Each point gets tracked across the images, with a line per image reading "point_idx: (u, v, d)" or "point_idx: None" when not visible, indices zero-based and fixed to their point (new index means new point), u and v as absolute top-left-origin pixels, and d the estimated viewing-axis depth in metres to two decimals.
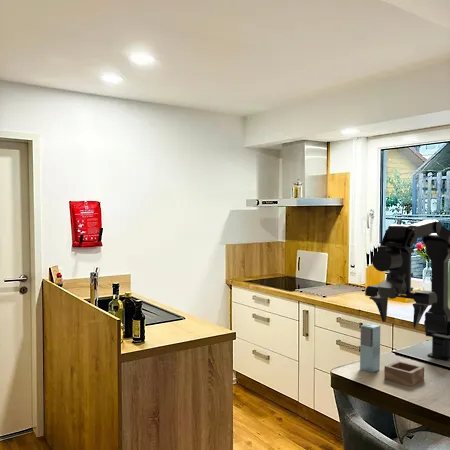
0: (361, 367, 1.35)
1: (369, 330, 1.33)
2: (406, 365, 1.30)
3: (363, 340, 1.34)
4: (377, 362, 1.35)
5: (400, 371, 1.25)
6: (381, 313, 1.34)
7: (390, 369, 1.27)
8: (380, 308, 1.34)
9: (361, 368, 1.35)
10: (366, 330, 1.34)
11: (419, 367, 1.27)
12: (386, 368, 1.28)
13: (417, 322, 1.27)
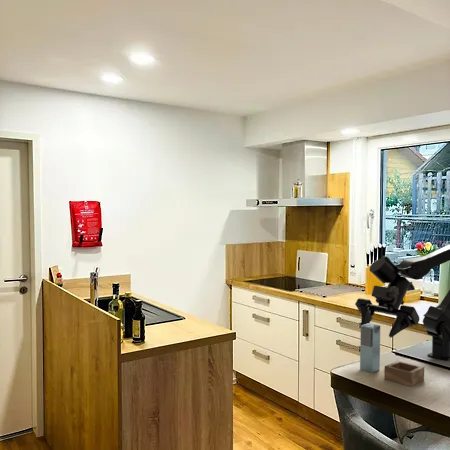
0: (361, 367, 1.35)
1: (369, 330, 1.33)
2: (406, 365, 1.30)
3: (363, 340, 1.34)
4: (377, 362, 1.35)
5: (400, 371, 1.25)
6: (362, 321, 1.42)
7: (390, 369, 1.27)
8: (363, 317, 1.43)
9: (361, 368, 1.35)
10: (366, 330, 1.34)
11: (419, 367, 1.27)
12: (386, 368, 1.28)
13: (393, 332, 1.35)
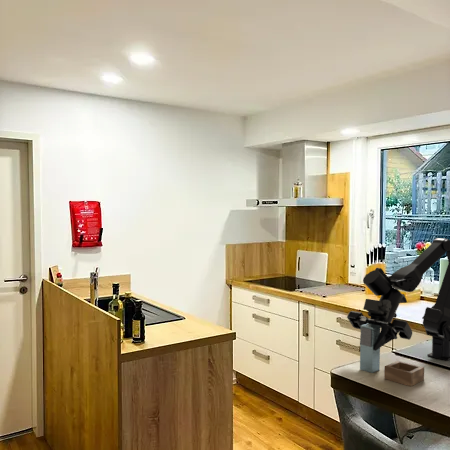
0: (361, 367, 1.35)
1: (369, 330, 1.33)
2: (406, 365, 1.30)
3: (363, 340, 1.34)
4: (377, 362, 1.35)
5: (400, 371, 1.25)
6: None
7: (390, 369, 1.27)
8: None
9: (361, 368, 1.35)
10: (366, 330, 1.34)
11: (419, 367, 1.27)
12: (386, 368, 1.28)
13: (378, 345, 1.33)
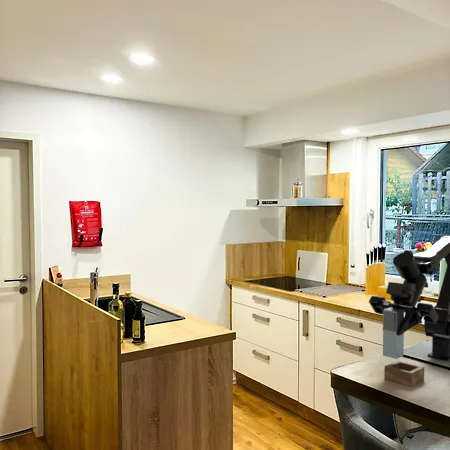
0: (384, 353, 1.30)
1: (392, 314, 1.28)
2: (406, 365, 1.30)
3: (386, 325, 1.29)
4: (401, 348, 1.29)
5: (400, 371, 1.25)
6: None
7: (390, 369, 1.27)
8: None
9: (384, 354, 1.30)
10: (389, 314, 1.28)
11: (419, 367, 1.27)
12: (386, 368, 1.28)
13: (402, 330, 1.28)
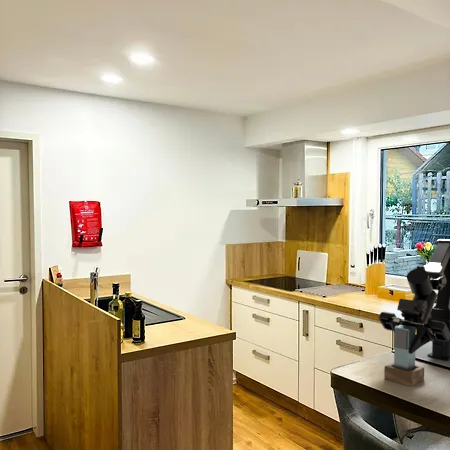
0: None
1: (404, 332, 1.25)
2: None
3: (398, 342, 1.27)
4: (412, 366, 1.27)
5: (400, 371, 1.25)
6: None
7: (390, 369, 1.27)
8: None
9: None
10: (401, 332, 1.26)
11: (419, 367, 1.27)
12: (386, 368, 1.28)
13: (414, 348, 1.26)
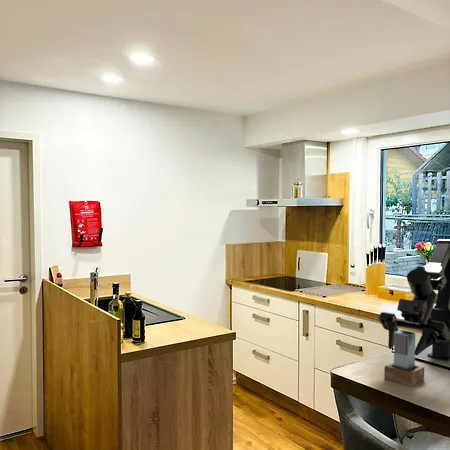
0: None
1: (404, 337, 1.25)
2: None
3: (397, 348, 1.27)
4: None
5: (400, 371, 1.25)
6: (390, 338, 1.31)
7: (390, 369, 1.27)
8: (391, 333, 1.31)
9: None
10: (401, 337, 1.26)
11: (419, 367, 1.27)
12: (386, 368, 1.28)
13: (419, 350, 1.24)
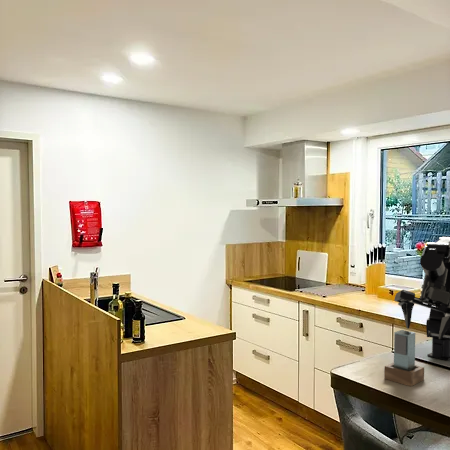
0: None
1: (404, 337, 1.25)
2: None
3: (397, 348, 1.27)
4: None
5: (400, 371, 1.25)
6: (409, 319, 1.33)
7: (390, 369, 1.27)
8: (410, 314, 1.33)
9: None
10: (401, 337, 1.26)
11: (419, 367, 1.27)
12: (386, 368, 1.28)
13: None
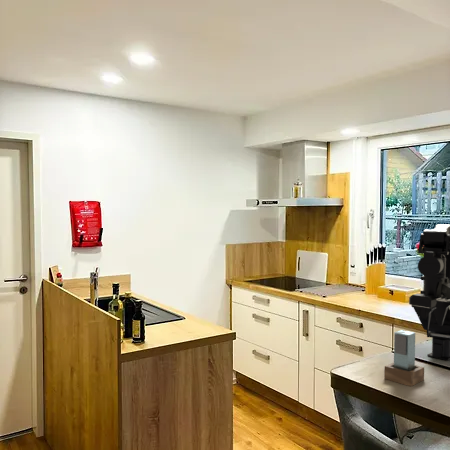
0: None
1: (404, 337, 1.25)
2: None
3: (397, 348, 1.27)
4: None
5: (400, 371, 1.25)
6: (429, 321, 1.30)
7: (390, 369, 1.27)
8: (430, 317, 1.29)
9: None
10: (401, 337, 1.26)
11: (419, 367, 1.27)
12: (386, 368, 1.28)
13: None
